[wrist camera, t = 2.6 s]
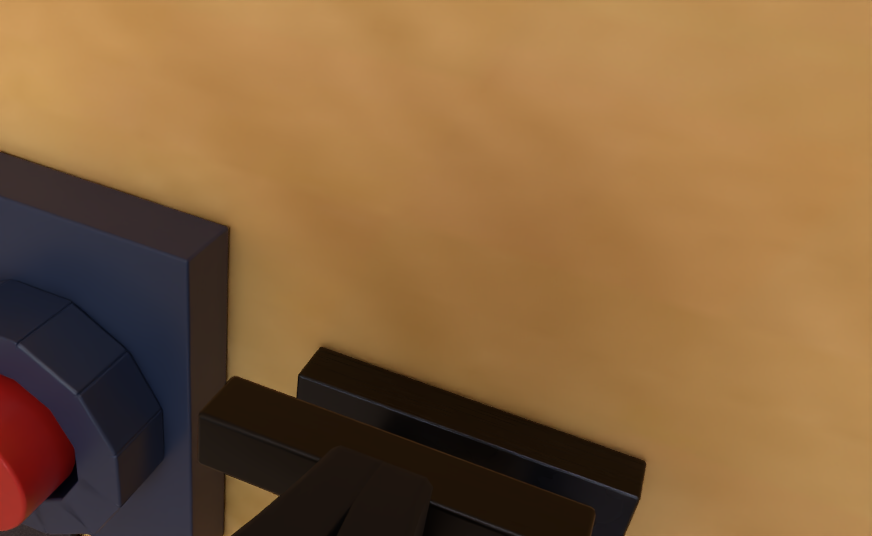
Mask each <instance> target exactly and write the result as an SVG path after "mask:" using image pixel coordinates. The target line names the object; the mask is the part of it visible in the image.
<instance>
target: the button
mask: <svg viewBox="0 0 872 536" xmlns="http://www.w3.org/2000/svg"><path fill="white" fill-rule="evenodd" d="M74 465H75V451H74V447H73V445H72V444H71V442H70V441H69V439H68V438H67V436H66V434H65V433H64V431H63V430H62V428H61V427H60V425H59V424H58V422H57V420H56V419H55V417H54V416H53V414H52V413H51V411H50V410H49V409H48V408H47V407H46V406H45V405H43V404H42V403H41V402H40V401H39V400H37V399H36V398H35V397H34V396H33V395H32V394H30V393H29V392H28V391H27V390H26V389H24V388H23V387H22V386H21V385H20V384H18V383H17V382H16V381H15V380H14V379H11V378H8V377H6V376H3V375H1V374H0V531H7V530H10V529H13V528H15V527H17V526H19V525H20V524H21V523H22V522H23V521H24V520H25V519H26V518H27V517H28V516H29V515H30V514H31V513H32V512H33V511H34V510H35V509H36V508H37V507H38V506H39V505H40V504H41V503H42V502H44V501H45V500H46V499H47V498H48V497H49V496H50V495H51V494H52V493H53V492H54V491H55V490H56V489H57V488H58V487H59V486H60V485H61V484H62V483H63V482H64V481H65V480H66V479H67V478H68V477H69V476H70V474H71V472H72V470H73V468H74Z"/></svg>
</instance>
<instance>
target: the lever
mask: <svg viewBox="0 0 872 536" xmlns="http://www.w3.org/2000/svg"><path fill="white" fill-rule="evenodd" d="M340 445H342V446H344V447H347V448H350V449H352V450H355V451H358V452H360V453H363V454H366V455H368V456H371V457H374V458H376V459H379V460H382V461H384V462H387V463H390V464H392V465H395V466H398V467H400V468H403V469H406V470H408V471H411V472H413V473H416V474H419V475H421V476H424V477H427V479H428V480H429V481H430V483H431V484H432V486H433V490H432V495H431V500H430V504H429V509H428V513H427V518H426V522H425V527H424V531H423V536H591V534H592V530H593V525H594V521H595V516H596V514H595V509H593V508H592V507H590V506H588V505H585V504H582V503H579V502H577V501H574V500H571V499H569V498H566V497H563V496H560V495H558V494H555V493H552V492H550V491H547V490H544V489H541V488H539V487H536V486H533V485H531V484H528V483H525V482H523V481H520V480H517V479H514V478H512V477H509V476H506V475H504V474H501V473H498V472H495V471H493V470H490V469H487V468H485V467H482V466H479V465H476V464H474V463H471V462H468V461H466V460H463V459H460V458H457V457H455V456H452V455H449V454H447V453H444V452H441V451H438V450H436V449H433V448H430V447H428V446H425V445H422V444H419V443H417V442H414V441H411V440H409V439H406V438H403V437H400V436H398V435H395V434H392V433H390V432H387V431H384V430H381V429H379V428H376V427H373V426H371V425H368V424H365V423H363V422H360V421H357V420H354V419H352V418H349V417H346V416H344V415H341V414H338V413H335V412H333V411H330V410H327V409H325V408H322V407H319V406H316V405H314V404H311V403H308V402H306V401H303V400H300V399H297V398H295V397H292V396H289V395H287V394H284V393H281V392H278V391H276V390H273V389H270V388H268V387H265V386H262V385H259V384H257V383H254V382H251V381H249V380H246V379H243V378H240V377H238V376H234V377H231V379H230V380H229V381H228V382H227V383H226V384H225V385H224V386H223V387H222V388H221V389H220V390H219V391H218V392H217V394H216V395H215V396H214V397H213V398H212V399H211V400H210V401H209V402H208V403H207V404H206V405H205V406H204V408H203V409H202V410H201V411H200V412H199V414H198V429H197V461H198V462H199V463H200V464H201V465H204V466H206V467H209V468H211V469H214V470H216V471H219V472H221V473H224V474H226V475H229V476H231V477H234V478H237V479H239V480H242V481H244V482H247V483H249V484H252V485H254V486H257V487H259V488H262V489H264V490H267V491H269V492H272V493H274V494H277V495H279V496H280V495H282V494H283V493H284V492H285V491H286V490H287V489H288V488H290V487H291V486H292V485H293V484H294V483H295V482H296V481H298V480H299V479H300V478H301V477H302V476H303V475H304V474H305V473H306V472H307V471H309V470H310V469H311V468H312V467H313V466H314V465H315V464H316V463H317V462H318V461H319V460H320V459H321V458H322V457H323V456H325V455H326V454H327V453H328V452H329V451H330V450H331V449H332V448H334V447H337V446H340Z"/></svg>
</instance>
